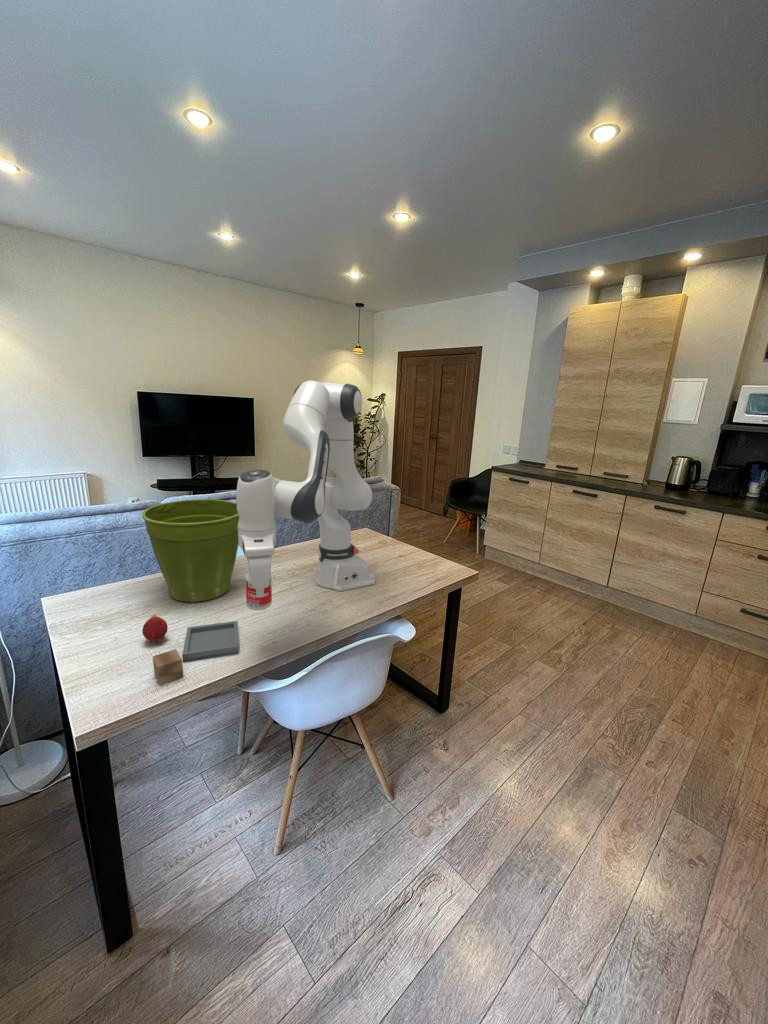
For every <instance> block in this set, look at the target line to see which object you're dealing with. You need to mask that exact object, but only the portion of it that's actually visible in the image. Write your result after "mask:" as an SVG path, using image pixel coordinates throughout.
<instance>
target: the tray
mask: <svg viewBox="0 0 768 1024" xmlns="http://www.w3.org/2000/svg"><path fill="white" fill-rule="evenodd" d="M238 624H239V622H238V620H234V621H226V622H220V623H219V622H218V623H210V624H202V625H195V626H188V627H186V634H185V638H184V642H183V643H184V644H183V648H182V649H183V650H182V655H181V658H182V663H189V662H195V661H201V660H206V659H212V658H213V659H214V658H220V657H226V656H233V655H238V654H239V625H238Z"/></svg>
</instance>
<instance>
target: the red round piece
mask: <svg viewBox="0 0 768 1024" xmlns="http://www.w3.org/2000/svg"><path fill="white" fill-rule="evenodd" d="M168 629H169V628H168V623H167V621H166V620H165V619H164V618H162V617H160V616H157V614H156V613H153V614H151V616H150V618H149V619H147V621H145V622H144V623H143V626H142V629H141V630H142V631H141V632H142V636H143V637H144V638H145V639H146V640H147V641H149V642H153V643H157V642H159V641H160V640H162V639H163V638H164V637H165V635H166V634H167V633H168Z"/></svg>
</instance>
